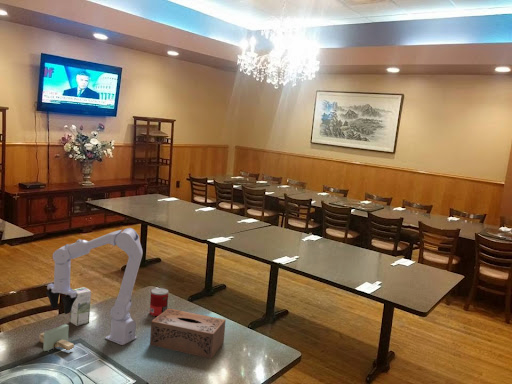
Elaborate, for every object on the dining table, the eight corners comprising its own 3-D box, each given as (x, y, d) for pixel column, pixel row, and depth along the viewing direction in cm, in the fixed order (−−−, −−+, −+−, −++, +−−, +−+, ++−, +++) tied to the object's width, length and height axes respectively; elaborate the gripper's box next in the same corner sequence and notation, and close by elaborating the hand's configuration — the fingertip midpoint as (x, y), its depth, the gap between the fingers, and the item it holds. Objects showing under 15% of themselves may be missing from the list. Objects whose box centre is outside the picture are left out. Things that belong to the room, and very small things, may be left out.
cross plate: (64, 341, 162) (65, 324, 161) (68, 342, 161) (68, 325, 160) (43, 350, 154) (43, 332, 153) (46, 352, 153) (47, 333, 152)
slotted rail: (73, 351, 155) (73, 344, 155) (67, 354, 153) (68, 346, 153) (45, 339, 162) (45, 331, 162) (39, 341, 160) (39, 333, 160)
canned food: (164, 317, 191) (166, 294, 190) (147, 316, 191) (149, 292, 190) (168, 311, 199) (170, 288, 198) (151, 309, 199) (153, 287, 198)
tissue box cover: (149, 345, 166) (151, 321, 164) (166, 330, 179) (168, 308, 178) (211, 359, 159) (213, 334, 158) (223, 342, 173) (225, 319, 172)
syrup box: (82, 318, 183) (84, 286, 181) (89, 323, 179) (91, 290, 178) (69, 322, 179) (71, 289, 177) (76, 326, 175) (78, 293, 173)
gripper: (40, 275, 164) (39, 308, 166) (66, 284, 158) (64, 318, 159) (56, 271, 170) (55, 303, 172) (81, 279, 164) (80, 313, 165)
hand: (60, 310), depth 166 cm, fingers open, 7 cm apart
